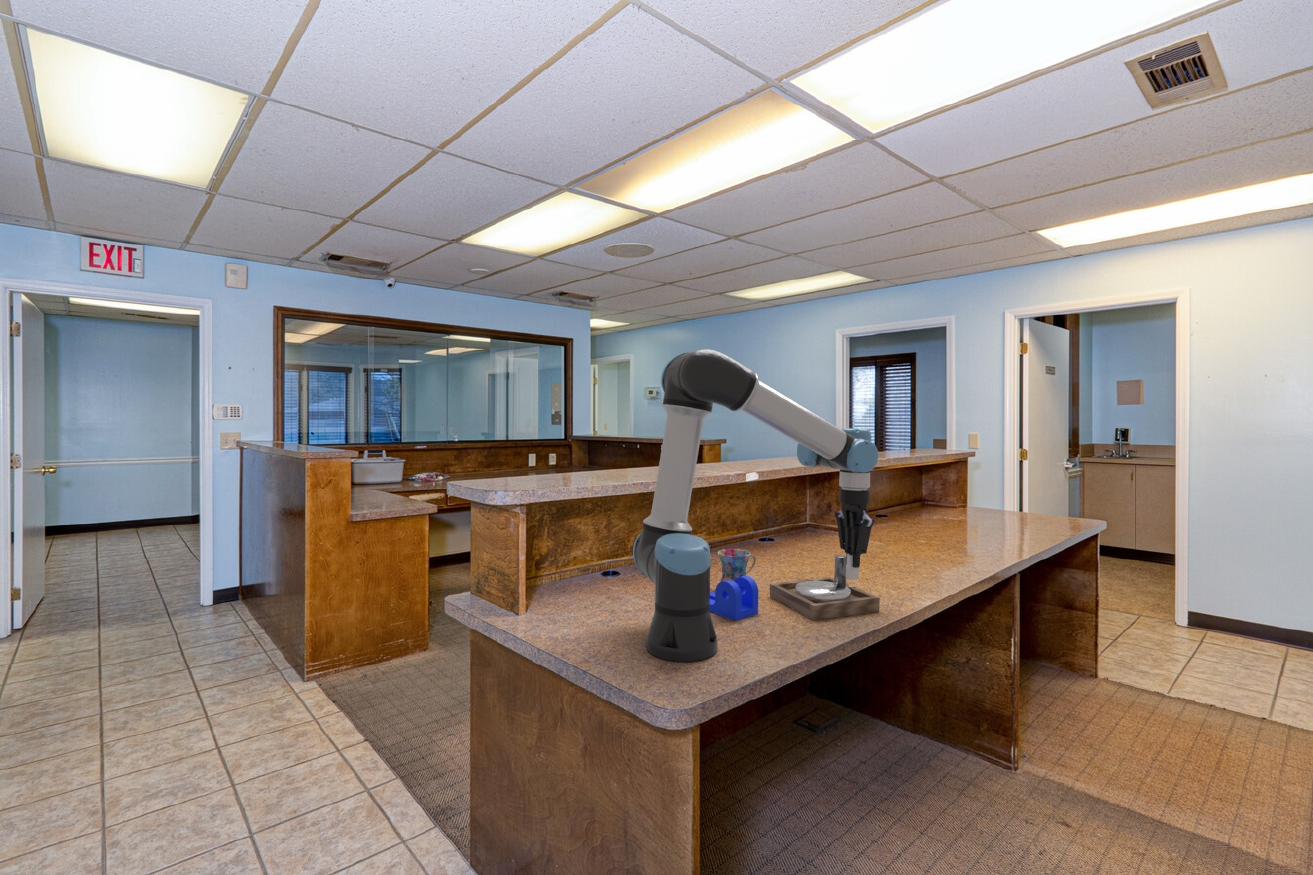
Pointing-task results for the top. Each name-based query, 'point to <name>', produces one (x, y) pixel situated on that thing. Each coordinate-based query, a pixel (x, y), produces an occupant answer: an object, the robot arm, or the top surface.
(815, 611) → the dial panel
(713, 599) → the bracket
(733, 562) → the mug
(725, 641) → the top surface
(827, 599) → the dial
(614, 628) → the top surface
